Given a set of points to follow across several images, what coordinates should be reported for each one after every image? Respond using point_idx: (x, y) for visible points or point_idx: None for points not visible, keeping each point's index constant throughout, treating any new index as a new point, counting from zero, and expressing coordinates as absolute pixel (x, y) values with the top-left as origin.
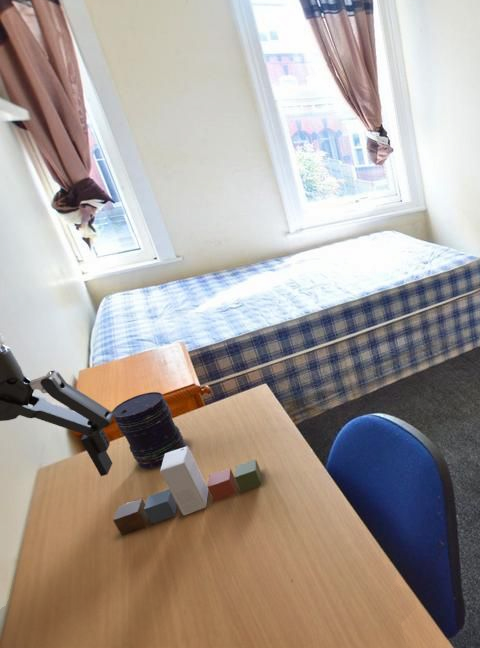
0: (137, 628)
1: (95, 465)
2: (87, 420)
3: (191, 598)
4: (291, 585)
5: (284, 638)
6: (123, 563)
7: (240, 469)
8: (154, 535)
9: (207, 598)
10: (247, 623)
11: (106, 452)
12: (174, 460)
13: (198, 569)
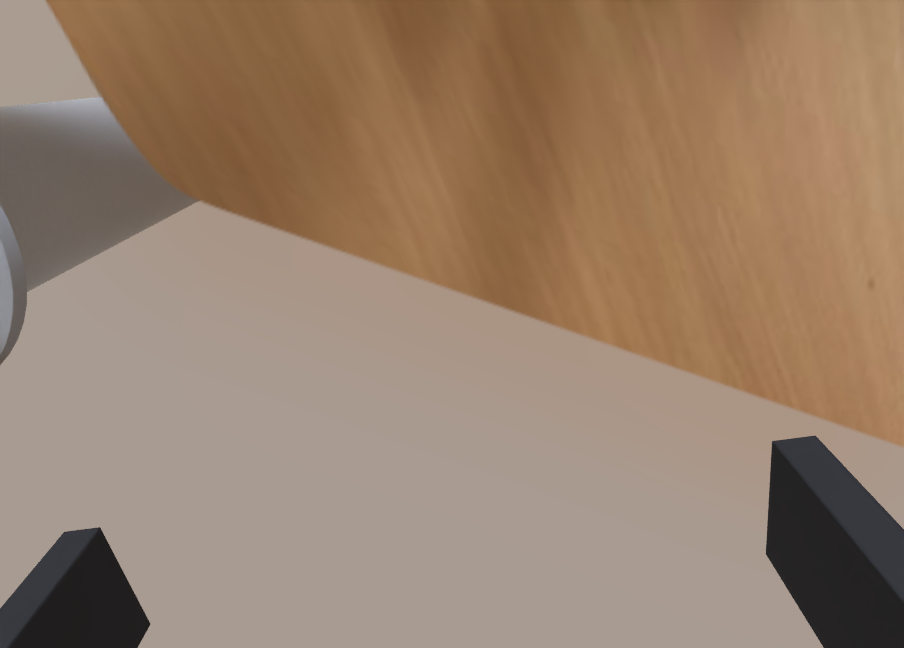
0: (501, 281)
1: (823, 642)
2: None
3: (616, 241)
4: (867, 298)
5: (832, 420)
6: (360, 8)
7: None
8: None
9: (658, 257)
10: (758, 360)
11: (891, 522)
12: None
13: (617, 141)
